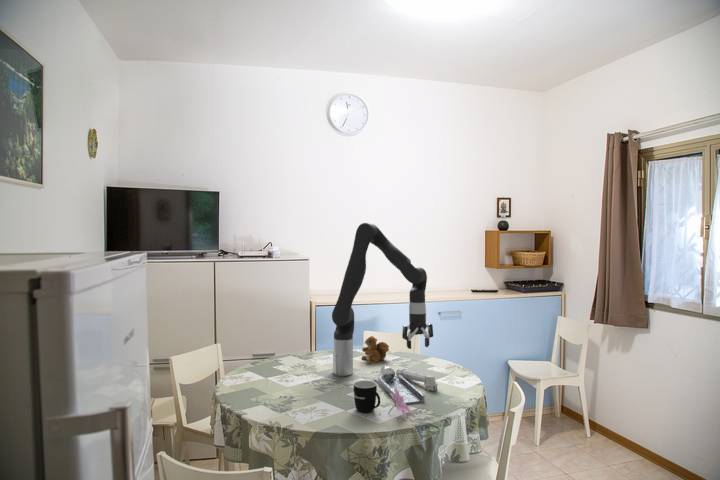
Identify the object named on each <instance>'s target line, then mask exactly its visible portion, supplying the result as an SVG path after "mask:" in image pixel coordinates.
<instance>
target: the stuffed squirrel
mask: <svg viewBox="0 0 720 480" xmlns="http://www.w3.org/2000/svg"><path fill="white" fill-rule="evenodd" d="M377 341H378V338H376V337H375V336H373V335H371V336H369V337H368V338H366V339H365V341H364V343H363V344H364V345H366V346H364V347H362V350H361V351H362V352H363V353H364V354H365V355H362V356H361V359H362V360H366V361H367V363H368V364H376V363H378V362H379V361H381V362H382V361H384V360H385V358H387V352H389V350H390V346H389V345H388V344H387V343H386V342H383V341H381V342H378V343H377Z"/></svg>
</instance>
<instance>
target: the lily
mask: <svg viewBox="0 0 720 480" xmlns="http://www.w3.org/2000/svg"><path fill="white" fill-rule="evenodd" d="M394 389H395V395H394V394H392V393H390V395H391V396H392V398H393V399H394V400H395V401H394V400H393V399H392V398H391V399H392V400H393V401H394V405H393V406H392V407H391V409H390V410H389V412H388V413H387V414H388V415H390V413H391V411H392V410H393V409H394V408H395V407H396V410H397V411H400V412H401V413H402V415H403V417H404V419H405V420H407V414H406V412H407V413H410V414H412V411H411V409H410V407H409V406H408V404H405V403H404V398H403V397H402V396H400V394H399V392H398V390H397V388H396V387H395V386H394ZM390 395H389V396H390Z"/></svg>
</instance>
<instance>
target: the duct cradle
mask: <svg viewBox="0 0 720 480" xmlns="http://www.w3.org/2000/svg"><path fill="white" fill-rule="evenodd" d="M379 371H380V372H379V373H380V376H378V377H377V378H374V382H375V383H376V384H378V385H379V387H380V388H382V389H383V391H384V392H386V394H387V395H388V396H389V397H391V399H392V400H393V401H394V402H395V400H394V399H393V398H392V396H391V395H390V393H392V394H394V395H395V389H394V386H395V387H396V388H397V390H398V392H399V394H400V396H402V397H403V398H404V403H405V404H406V405H413V404H422V403H425V399H426V398H425V395H424V394H423V393H422V391H420V390H418V389H417V387H415V386H414V385H412V383H410V382H409V381H408V379H404V378H403V377H402V376H401V375H399V377H398V376H397V375H396V371H395V370H394V369H393V368H392V367H391V366H390V365H383V366H382V367H380V370H379Z"/></svg>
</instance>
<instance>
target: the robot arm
mask: <svg viewBox="0 0 720 480" xmlns="http://www.w3.org/2000/svg"><path fill="white" fill-rule="evenodd" d="M370 244H372V245H374V246H375V247H376V248H378V249H379V250H380V251H381V252H382V254H383V255H384V256H385V257H386V259H387V260H388V261H389V262H390V264H392V266H394V267H395V268H397V269H398V270H399V272H400V274H402V277H404V279H406V280H407V281H408V282H409V283H411V284H412V286H411V289H410V290H409V304H408V312H409V313H408V317H409V318H408V319H409V321H408V323H409V324H408V325H404V324H403V326H402V335H401V336H402V339H403V340H405V341H406V348H407V349H409V350H411V349H412V339H413V337H414V336H418V335H423V336H424V347H425V348H428V347H429V346H430V338H433V337H434V328H433V327H434V326H433V324H432V323H430V322H429V323H427V306H426V288H427V281H428V275H427V272H426V270H425V269H424V268H423V267H415V265H413V264H412V261H411V259H410V258H409V257H408V256H407V255H405V254H404V253H403V252H402V251H401V250H400V249H399V248H397V247H396V246H395V245H394V244H393V243H392V242H391V241H390V240H389V239H388V238H387V237H386V235H385V234H384V233H383V232H382V231H381V230H380V228H379V227H378V225H376V224H375V223H369V222H363V223H360V224H359V225H358V227H357V228H356V231H355V236H354V241H353V245H352V251H351V254H350V256H349V260H348V264H347V266H346V269H345V272H344V276H343V281H342V284H341V287H340V291H339V295H338V298H337V300H336V304H335V305H334V308H333V309H332V312H331V319H332V323H334V325H336V326H335V330H334V333H333V353H332V373H333V374H334V376H339V377H345V376H351V375H353V374H354V373H353V372H354V346H353V345H354V343H353V341H354V340H353V339H354V336H353V335H354V332H355V311H354V309H353V307H352V306H353V302H354V299H355V297H356V296H357V294H358V292H359V291H360V289H361V287H362V285H363V281H364V279H365V275H366V271H367V258H366V257H367V252H368V249H369V245H370ZM426 330H427V331H426ZM408 331H409V332H408Z"/></svg>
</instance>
